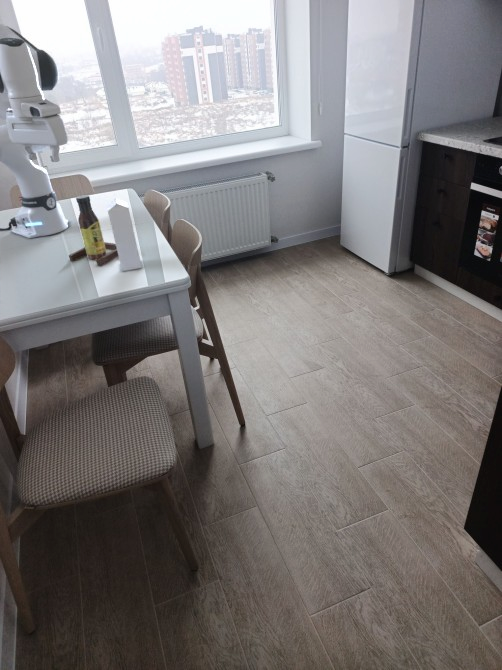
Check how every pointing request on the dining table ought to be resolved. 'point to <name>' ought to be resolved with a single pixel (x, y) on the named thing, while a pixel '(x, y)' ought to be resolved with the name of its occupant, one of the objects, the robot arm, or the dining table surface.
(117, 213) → the milk
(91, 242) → the sauce bottle
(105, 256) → the bottle bay
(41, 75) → the robot arm
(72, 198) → the dining table surface
